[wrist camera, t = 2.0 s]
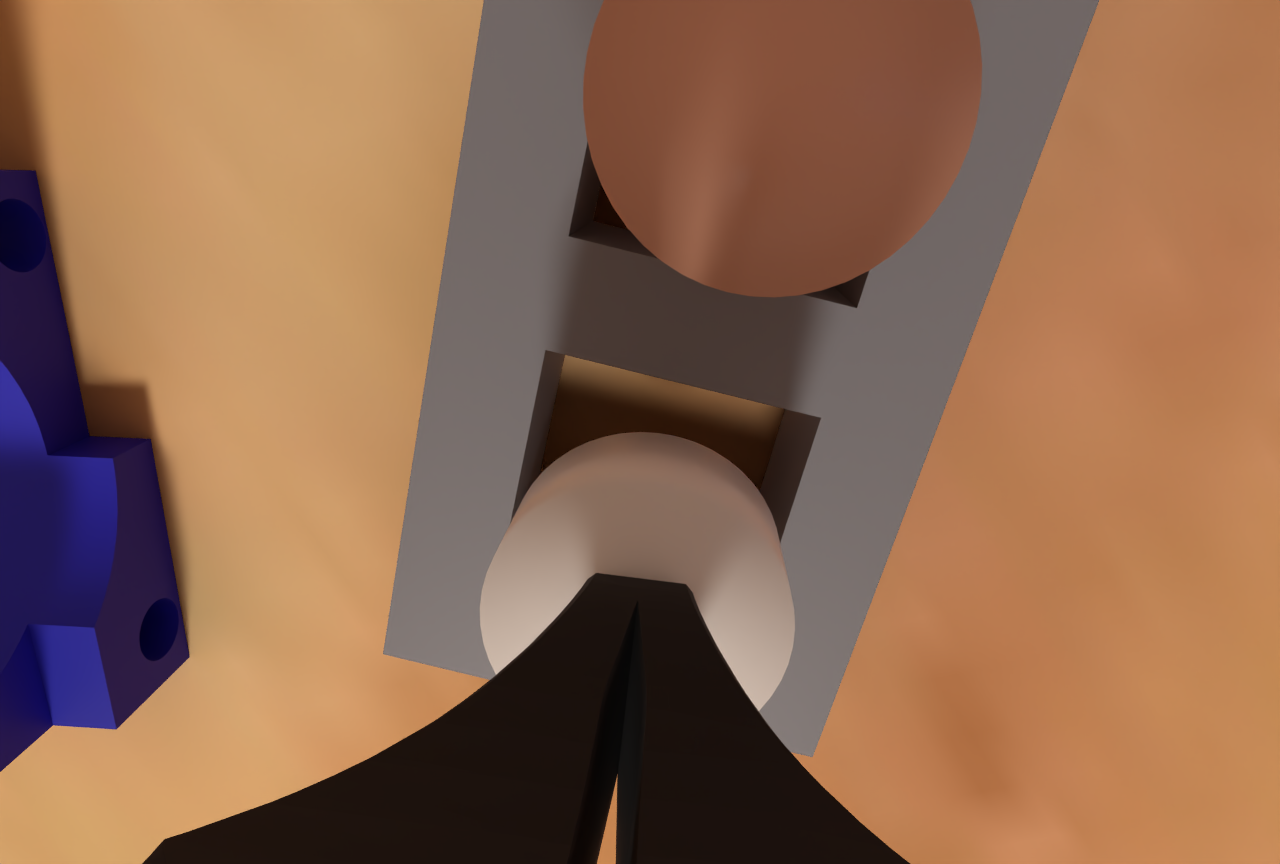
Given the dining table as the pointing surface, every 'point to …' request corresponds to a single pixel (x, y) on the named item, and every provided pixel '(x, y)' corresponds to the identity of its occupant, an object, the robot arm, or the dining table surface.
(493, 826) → the robot arm
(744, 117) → the knob middle
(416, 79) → the dining table surface
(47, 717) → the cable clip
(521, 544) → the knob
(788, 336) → the mount
